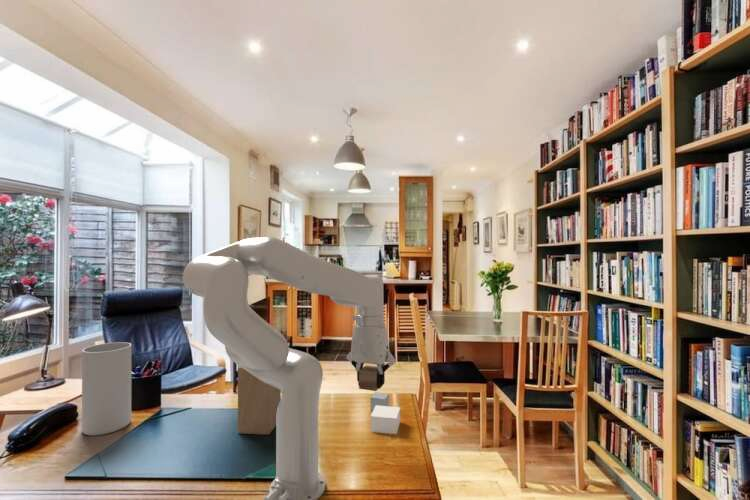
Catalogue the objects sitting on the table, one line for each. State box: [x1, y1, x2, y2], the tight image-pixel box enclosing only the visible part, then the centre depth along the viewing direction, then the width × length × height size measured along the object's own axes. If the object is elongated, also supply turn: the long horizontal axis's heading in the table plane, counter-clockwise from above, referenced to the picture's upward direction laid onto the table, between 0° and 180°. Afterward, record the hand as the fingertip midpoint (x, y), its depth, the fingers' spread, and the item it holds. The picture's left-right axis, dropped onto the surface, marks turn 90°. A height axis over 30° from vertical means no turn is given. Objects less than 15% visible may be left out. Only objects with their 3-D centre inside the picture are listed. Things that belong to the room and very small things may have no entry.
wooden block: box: [237, 366, 282, 436], centre depth 114 cm, size 10×10×20 cm
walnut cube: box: [358, 365, 379, 392], centre depth 102 cm, size 5×5×5 cm
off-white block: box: [370, 405, 401, 435], centre depth 114 cm, size 8×8×5 cm
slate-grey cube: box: [370, 391, 390, 413], centre depth 126 cm, size 5×5×5 cm
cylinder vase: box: [81, 341, 133, 437], centre depth 114 cm, size 12×12×25 cm
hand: (370, 384), depth 102 cm, fingers closed on walnut cube, 4 cm apart
